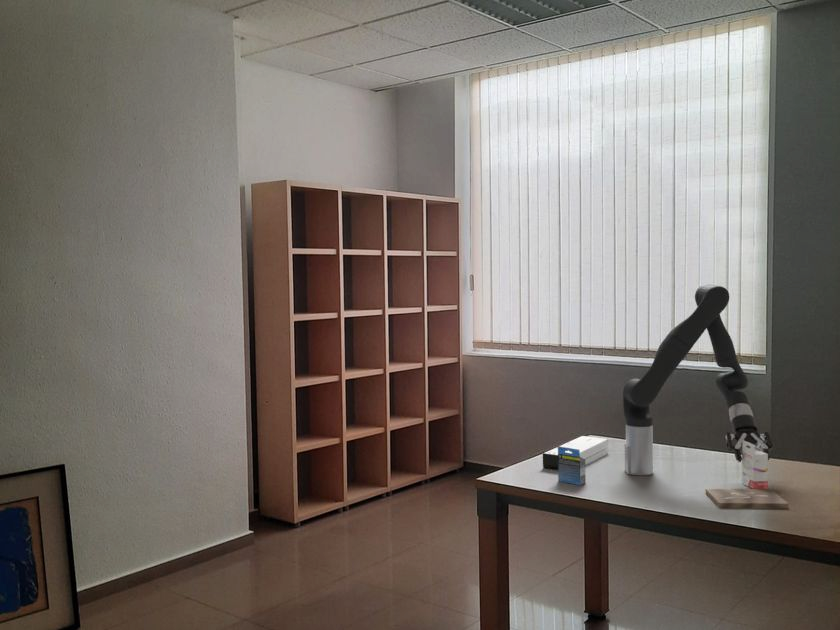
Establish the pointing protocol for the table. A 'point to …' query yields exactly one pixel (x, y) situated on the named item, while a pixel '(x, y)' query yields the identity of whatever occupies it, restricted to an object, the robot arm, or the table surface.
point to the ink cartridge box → (754, 467)
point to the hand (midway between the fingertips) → (753, 460)
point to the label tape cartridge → (571, 466)
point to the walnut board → (746, 498)
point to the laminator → (587, 448)
